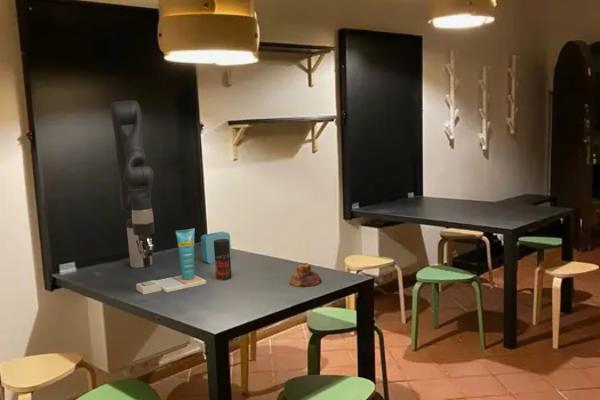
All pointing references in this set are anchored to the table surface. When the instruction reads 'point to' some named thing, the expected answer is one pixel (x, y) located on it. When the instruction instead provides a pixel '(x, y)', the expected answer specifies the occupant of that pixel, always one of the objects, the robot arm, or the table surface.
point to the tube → (186, 252)
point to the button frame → (148, 288)
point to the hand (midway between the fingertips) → (147, 266)
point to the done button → (148, 283)
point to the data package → (212, 245)
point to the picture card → (179, 283)
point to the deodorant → (222, 259)
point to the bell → (305, 277)
